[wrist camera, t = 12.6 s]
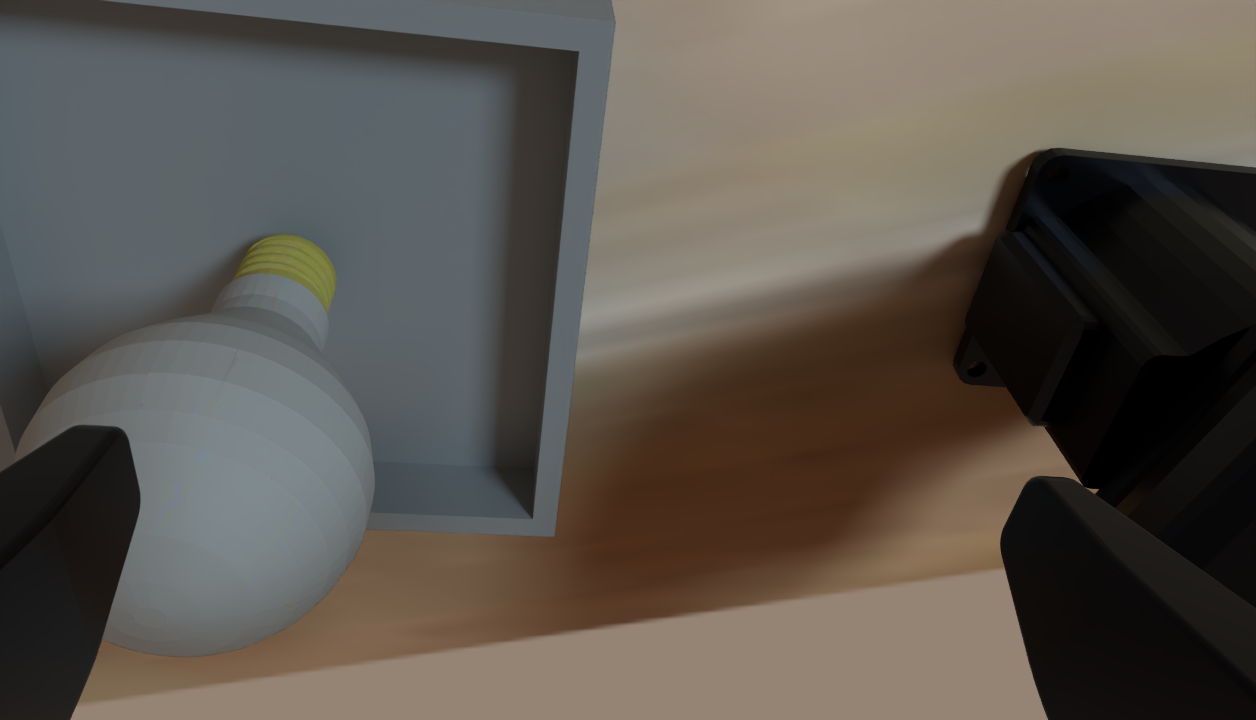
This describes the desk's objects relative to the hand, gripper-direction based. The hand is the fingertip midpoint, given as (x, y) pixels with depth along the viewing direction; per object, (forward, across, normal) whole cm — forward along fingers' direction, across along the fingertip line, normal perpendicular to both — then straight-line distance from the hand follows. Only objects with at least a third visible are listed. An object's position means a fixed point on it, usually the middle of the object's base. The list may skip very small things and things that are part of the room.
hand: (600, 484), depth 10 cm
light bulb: (+13, +6, +5) cm, 15 cm away
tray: (+13, +6, +5) cm, 15 cm away
